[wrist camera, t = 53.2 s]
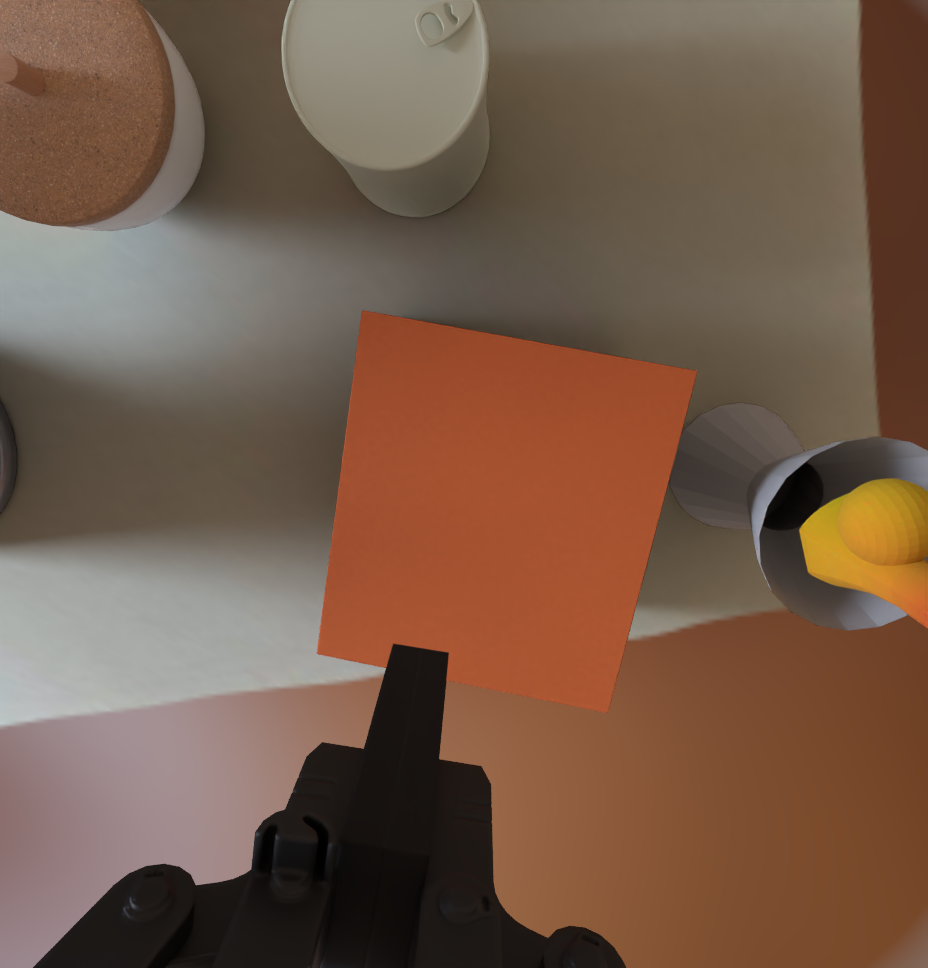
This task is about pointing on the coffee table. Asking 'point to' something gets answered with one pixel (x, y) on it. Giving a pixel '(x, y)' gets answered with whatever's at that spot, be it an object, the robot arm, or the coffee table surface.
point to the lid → (498, 506)
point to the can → (394, 94)
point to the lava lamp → (814, 513)
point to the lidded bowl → (94, 115)
